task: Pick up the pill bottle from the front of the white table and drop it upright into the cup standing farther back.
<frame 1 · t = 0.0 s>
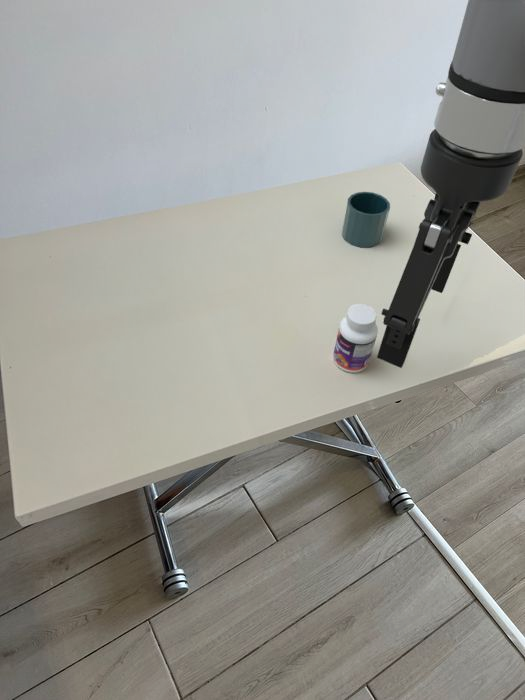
hand: (412, 321, 59), 18 cm above the table, tool pointing down, fingers open, 13 cm apart
pill bottle: (350, 360, 80), on the table
cup: (361, 235, 101), on the table
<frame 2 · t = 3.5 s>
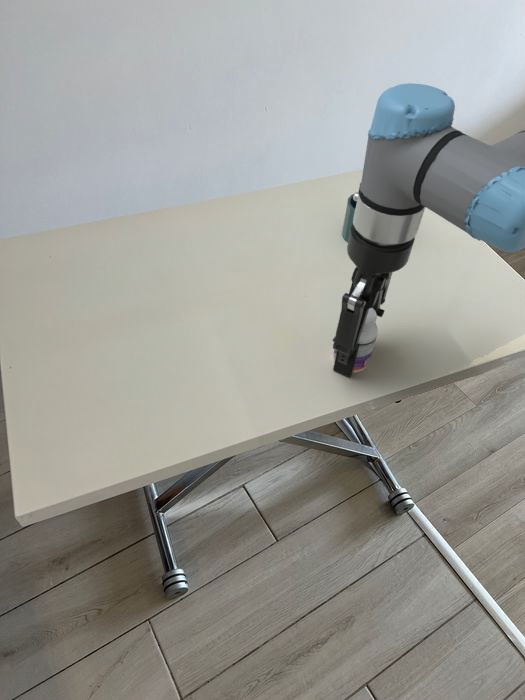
hand: (350, 358, 79), 0 cm above the table, tool pointing down, fingers closed on pill bottle, 5 cm apart
pill bottle: (350, 360, 80), on the table, touching gripper
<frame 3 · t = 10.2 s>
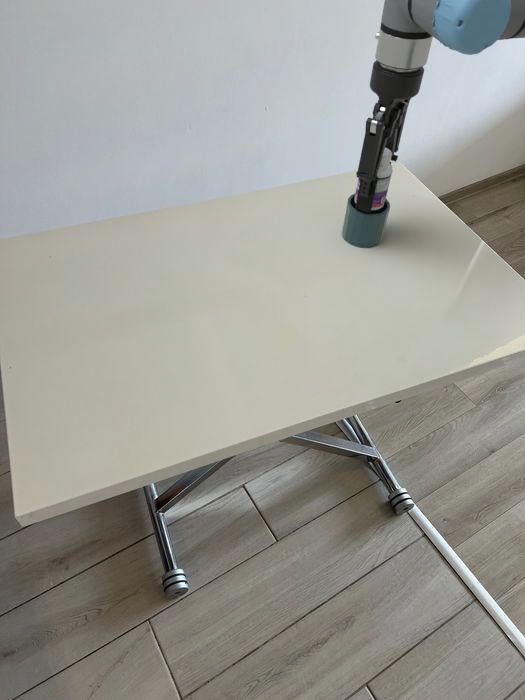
hand: (369, 201, 95), 7 cm above the table, tool pointing down, fingers closed on pill bottle, 5 cm apart
pill bottle: (368, 203, 95), point 7 cm above the table, touching gripper
when the fingers open (8 cm above the table, at t = 15.3 s): pill bottle drops 8 cm, resting on cup.
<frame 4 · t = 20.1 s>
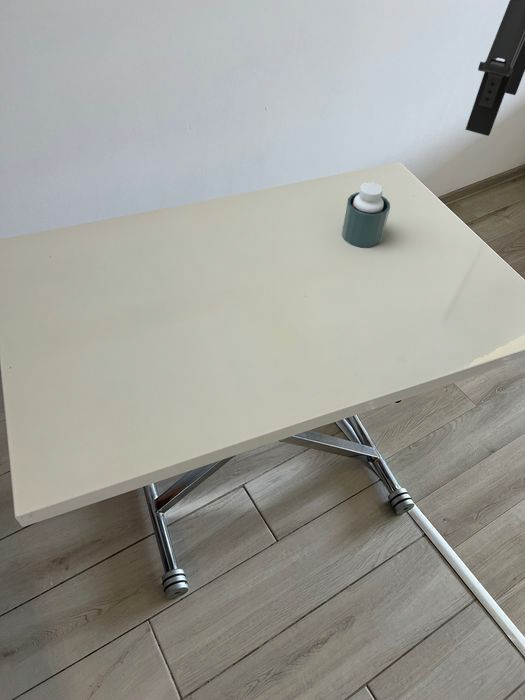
hand: (492, 110, 66), 32 cm above the table, tool pointing down, fingers open, 13 cm apart
pill bottle: (361, 234, 100), resting on cup
at the end: pill bottle 0.2 cm off-centre in the cup, point 0.2 cm above the cup's base; pill bottle tilted 0°; the gripper is holding nothing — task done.
